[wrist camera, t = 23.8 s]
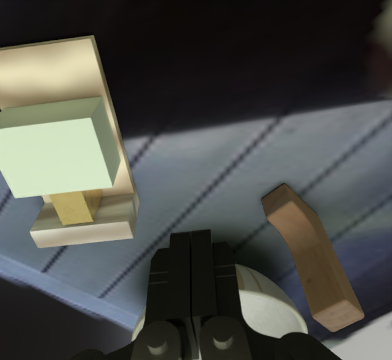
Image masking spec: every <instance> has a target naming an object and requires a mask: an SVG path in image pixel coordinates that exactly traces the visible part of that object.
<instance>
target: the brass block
mask: <svg viewBox="0 0 392 360" xmlns="http://www.w3.org/2000/svg"><path fill="white" fill-rule="evenodd" d="M102 194H103V193H102V190H101V189H92V190H83V191H75V192H66V193H57V194H49V196H50V198H51V201H52V203H53V205H54V207H55V209H56V211H57V214H58V216H59V218H60V220H61V222H62V224H63V225H67V224H76V223H85V222H93V221H94V218H95V215H96V212H97V209H98V206H99V203H100V200H101V197H102Z"/></svg>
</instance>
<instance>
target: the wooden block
mask: <svg viewBox="0 0 392 360" xmlns="http://www.w3.org/2000/svg"><path fill="white" fill-rule="evenodd" d="M262 205H263V208H264V212H265V215H266V218H267V220H268V221H269V222H270V223H271V224H272V225H273V226H274V227H275V228H276V229H277V230H278V231H279V232H280V234H281V235H282V237H283V238H284V240H285V241H286V243H287V245H288V247H289V249H290V252H291V254H292V256H293V259H294V263H295V266H296V269H297V272H298V275H299V278H300V281H301V284H302V287H303V290H304V293H305V296H306V299H307V302H308V305H309V308H310V311H311V314H312V317H313V318H314V319H315V320H317V321H318V322H319V323H321V324H322V325H323V326H325V327H326V328H327V329H329V330H330V331H331V332H335V331H337V330H339V329H341V328H343V327H345V326H348V325H350V324H352V323H354V322H356V321H358V320H360V319H362V318H363V317H364V313H363V311H362V309H361V306H360V304H359V302H358V300H357V298H356V296H355V294H354V292H353V289H352V287H351V285H350V283H349V281H348V279H347V277H346V275H345V272H344V270H343V268H342V266H341V264H340V262H339V260H338V258H337V255H336V253H335V251H334V249H333V247H332V245H331V243H330V240H329V238H328V236H327V234H326V232H325V230H324V228H323V226H322V223H321V221H320V219H319V217H318V215H317V214H316V213H315V212H314V211H313V210H312V209H311V208H310V207H309V206H308V205H307V204H306V203H304V202H303V201H302V200H301V199H300V198H299V197H298V196H297V195H296V194H295V193H294V192H293V191H292V190H291V189H290V188H289V187H288V186H287V185H286V184H282V185H281V186H280V187H278V188H277V189H275V190H274V191H272V192H271V193H270V194H268V195H267V196H265V197H264V198H263V199H262Z"/></svg>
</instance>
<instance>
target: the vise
mask: <svg viewBox="0 0 392 360" xmlns="http://www.w3.org/2000/svg"><path fill="white" fill-rule="evenodd" d="M100 96H102V97H103V101H104V104H105V108H106V111H107V115H108V118H109V121H110V125H111V128H112V132H113V135H114V139H115V142H116V146H117V149H118V153H119V156H120V160H121V162H120V165H119V168H118V172H117V175H116V178H115V182H114V185H113V187H110V188H101V190H102V193H103V194H102V197H101V200H100V203H99V206H98V209H97V212H96V215H95V218H94V221H93V222H85V223H76V224H67V225H63V224H62V222H61V220H60V218H59V216H58V214H57V211H56V209H55V207H54V205H53V203H52V201H51V198H50V196H49V194H48V195H42V197H43V200H44V202H45V204H44V206H43V208H42V210H41V211H40V213H39V215H38V217H37V219H36V221H35V223H34V224H33V226H32V228H31V230H30V233H31V235H32V237H33V239H34V241H35V243H36V245H37V247H38V248H43V247H53V246H62V245H72V244H82V243H91V242H101V241H110V240H120V239H129V238H133V237H134V231H135V226H136V220H137V215H138V209H139V204H140V202H139V199H138V195H137V191H136V188H135V184H134V181H133V177H132V173H131V170H130V166H129V162H128V159H127V155H126V151H125V148H124V144H123V140H122V137H121V133H120V130H119V126H118V122H117V119H116V115H115V111H114V108H113V104H112V100H111V97H110V93H109V89H108V86H107V82H106V79H105V75H104V71H103V68H102V64H101V60H100V57H99V53H98V49H97V46H96V42H95V38H94V35H91V36H84V37H77V38H69V39H62V40H55V41H47V42H40V43H33V44H26V45H18V46H11V47H4V48H0V108H1V111H2V110H3V109H5V108H13V107H21V106H29V105H37V104H45V103H53V102H60V101H68V100H76V99H84V98H92V97H100Z"/></svg>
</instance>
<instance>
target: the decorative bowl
mask: <svg viewBox="0 0 392 360" xmlns="http://www.w3.org/2000/svg"><path fill="white" fill-rule="evenodd" d="M235 267H236V273H237V280H238V287H239V294H240V301H241V308H242V314H243V317H244V319H245V321H246V323H247V324H248V325H249V326H250V327H251V328H252V329H254V330H255V331H257V332H259V333H261V334H264V335H268V336H272V337H276V338H281V337H282V336H283V335H285V334H287V333H290V332H303V333H306V334H308V330H307V326H306V323H305V321H304V319H303V317H302V315H301V313H300V312H299V310H298V309H297V307H296V306H295V305H294V303H293V302H292V301H291V299H290V298H289V297H288V296H287V295H286V294H285V292H284V291H283V290H282V289H281V288H279V287H278V286H277V285H276V284H275V283H274V282H273V281H271V280H270V279H269V278H267V277H266V276H264V275H262V274H261V273H259V272H257V271H255V270H253V269H251V268H248V267H245V266H242V265H239V264H235ZM145 311H146V306H145V307H144V309H143V311H142V313H141V314H140V316H139V318H138V321H137V323H136V325H135V328H134V331H133V335H132V341H134V340H135V339H136V337H137V335H138V333H139V332H140V331H141V329H142V328H143V325H144V320H145ZM197 360H201V355H200V350H199V359H197Z"/></svg>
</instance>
